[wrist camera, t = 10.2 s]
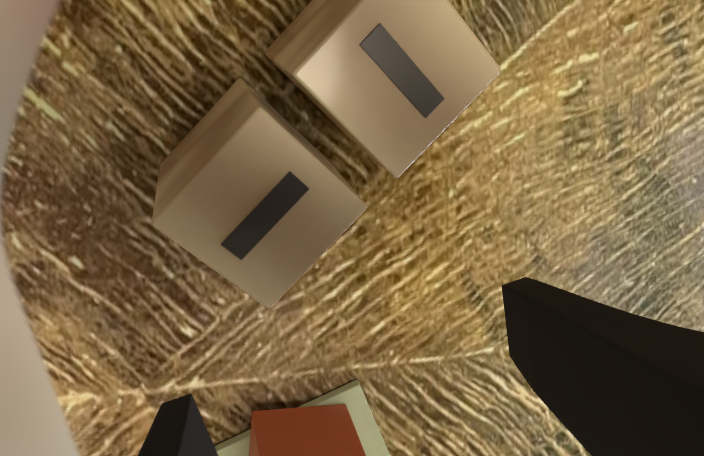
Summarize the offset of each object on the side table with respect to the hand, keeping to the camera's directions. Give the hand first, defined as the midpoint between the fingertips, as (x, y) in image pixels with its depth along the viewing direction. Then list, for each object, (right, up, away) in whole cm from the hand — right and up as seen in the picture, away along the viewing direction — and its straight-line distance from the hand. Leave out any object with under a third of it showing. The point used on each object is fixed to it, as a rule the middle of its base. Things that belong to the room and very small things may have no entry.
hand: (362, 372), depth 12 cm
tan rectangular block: (0, +9, +7) cm, 11 cm away
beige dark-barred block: (-4, +6, +7) cm, 10 cm away
